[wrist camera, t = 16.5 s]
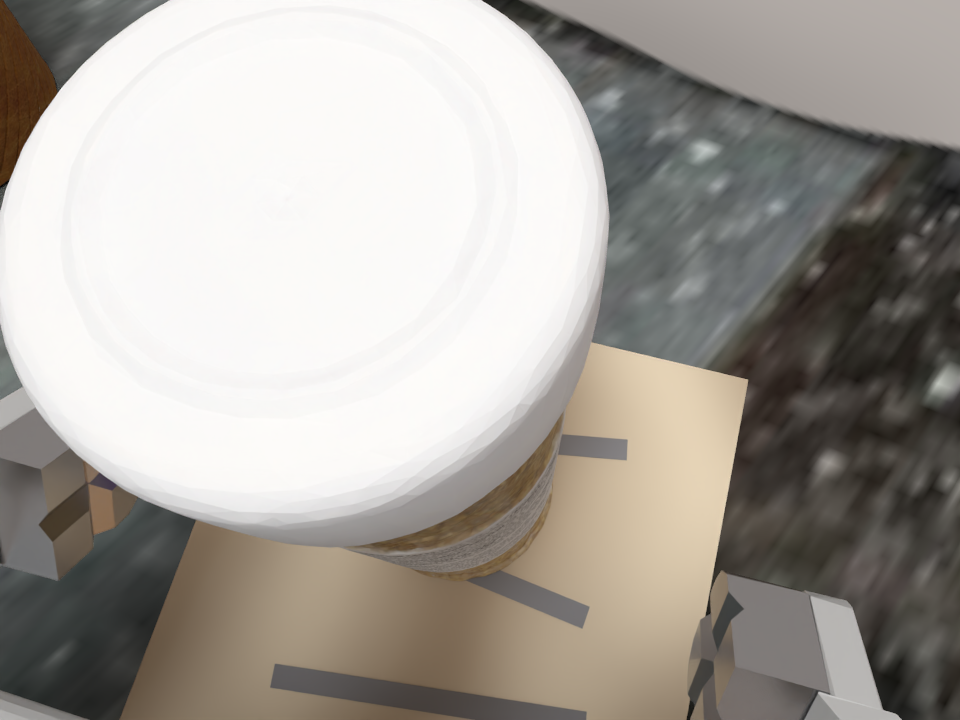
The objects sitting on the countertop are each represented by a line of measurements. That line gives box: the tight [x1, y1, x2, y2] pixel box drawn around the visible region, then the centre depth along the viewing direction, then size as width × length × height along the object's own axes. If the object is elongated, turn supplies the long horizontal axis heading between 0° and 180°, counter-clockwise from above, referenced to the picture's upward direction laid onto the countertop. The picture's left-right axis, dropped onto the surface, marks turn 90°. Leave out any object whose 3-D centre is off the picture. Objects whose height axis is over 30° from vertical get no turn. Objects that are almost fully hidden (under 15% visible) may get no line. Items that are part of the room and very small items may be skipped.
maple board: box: [120, 342, 748, 720], centre depth 18 cm, size 12×13×2 cm
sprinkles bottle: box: [0, 0, 609, 581], centre depth 12 cm, size 5×5×14 cm
